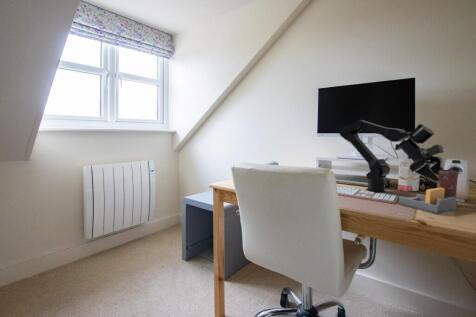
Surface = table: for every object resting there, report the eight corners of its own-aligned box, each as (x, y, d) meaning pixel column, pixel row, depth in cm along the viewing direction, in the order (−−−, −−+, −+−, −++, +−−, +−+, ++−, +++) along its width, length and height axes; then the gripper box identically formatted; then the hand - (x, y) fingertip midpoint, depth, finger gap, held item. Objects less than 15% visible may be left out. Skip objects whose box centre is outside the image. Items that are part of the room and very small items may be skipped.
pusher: (424, 207, 96) (426, 189, 96) (438, 205, 100) (440, 187, 99) (432, 209, 94) (433, 191, 93) (446, 206, 98) (447, 188, 97)
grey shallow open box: (398, 204, 104) (399, 192, 103) (417, 200, 109) (418, 189, 108) (436, 214, 91) (438, 200, 91) (456, 210, 96) (457, 197, 96)
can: (459, 207, 100) (462, 171, 98) (441, 206, 101) (444, 171, 100) (449, 202, 106) (452, 169, 104) (432, 201, 107) (435, 169, 106)
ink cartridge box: (407, 192, 124) (409, 162, 123) (397, 189, 129) (399, 161, 127) (419, 190, 127) (421, 161, 126) (409, 188, 132) (411, 160, 130)
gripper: (419, 138, 102) (452, 169, 93) (438, 137, 112) (469, 165, 104) (397, 156, 109) (426, 186, 101) (416, 154, 119) (444, 181, 111)
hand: (442, 179), depth 104 cm, fingers open, 9 cm apart
